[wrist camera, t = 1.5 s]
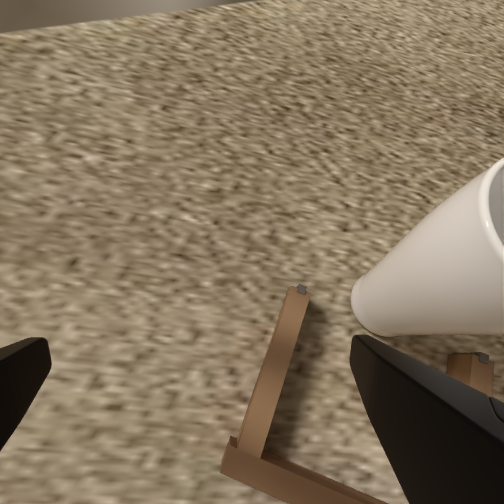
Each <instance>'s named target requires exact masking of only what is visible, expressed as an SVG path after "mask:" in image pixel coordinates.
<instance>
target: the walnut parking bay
mask: <svg viewBox="0 0 504 504" xmlns="http://www.w3.org/2000/svg"><path fill="white" fill-rule="evenodd" d="M306 288H307V287H306V286H303V285H301V284H299V285H298V286H297V288H296V287H294V286H292V287H291V288H290V289H289V291H288V292H287V294H286V297H285V300H284V303H283V306H282V309H281V312H280V314H279V317H278V320H277V323H276V326H275V329H274V332H273V335H272V338H271V341H270V344H269V347H268V350H267V353H266V356H265V358H264V361H263V364H262V367H261V370H260V373H259V376H258V379H257V382H256V385H255V388H254V391H253V394H252V397H251V400H250V403H249V405H248V408H247V411H246V414H245V417H244V420H243V423H242V426H241V429H240V432H239V435H238V438H234V437H232V436H230V439H229V442H228V444H227V447H226V450H225V453H224V456H223V459H222V464H221V471H220V473H221V474H224V475H226V476H228V477H230V478H233V479H235V480H237V481H240V482H242V483H244V484H246V485H249V486H251V487H253V488H255V489H258V490H260V491H262V492H264V493H267V494H269V495H271V496H273V497H276V498H278V499H280V500H282V501H285V502H287V503H289V504H388V503H385V502H383V501H381V500H378V499H376V498H374V497H371V496H369V495H367V494H364V493H362V492H360V491H357V490H355V489H353V488H351V487H348V486H346V485H344V484H341V483H339V482H337V481H334V480H332V479H330V478H327V477H325V476H323V475H320V474H318V473H316V472H313V471H311V470H309V469H306V468H304V467H302V466H299V465H297V464H295V463H292V462H290V461H288V460H285V459H283V458H281V457H278V456H276V455H274V454H271V453H269V452H267V451H264V450H263V448H264V444H265V441H266V438H267V435H268V431H269V428H270V425H271V422H272V418H273V415H274V412H275V409H276V406H277V402H278V399H279V396H280V393H281V389H282V386H283V383H284V380H285V376H286V373H287V370H288V367H289V363H290V360H291V357H292V354H293V351H294V347H295V344H296V341H297V338H298V334H299V331H300V328H301V325H302V321H303V318H304V315H305V312H306V308H307V305H308V302H309V299H310V296H311V293H310V292H307V291H306ZM493 369H494V362H492V361H490V360H489V355H487V354H484V353H481V352H474V353H455V355H449V357H448V365H447V373H446V374H447V375H449V376H451V377H453V378H455V379H457V380H459V381H461V382H463V383H465V384H467V385H469V386H471V387H473V388H475V389H477V390H479V391H481V392H483V393H485V394H487V395H488V397H492V384H493Z"/></svg>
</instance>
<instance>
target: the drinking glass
mask: <svg viewBox="0 0 504 504" xmlns="http://www.w3.org/2000/svg"><path fill="white" fill-rule="evenodd" d="M351 306H352V310H353V312H354V315H355V316H356V318H357V320H358V321H359V322H360V323H361V324H362V325H363V326H364V327H365V328H366V329H367V330H369V331H370V332H372V333H374V334H377V335H380V336H384V337H395V336H402V335H500V334H504V158H502V159H500V160H499V161H498V162H496V163H495V164H494V165H492V166H491V167H489V168H488V169H486V170H485V171H483V172H482V173H481V174H479V175H478V176H476V177H475V178H473V179H472V180H471V181H469V182H468V183H466V184H465V185H464V186H462V187H461V188H459V189H458V190H457V191H455V192H454V193H453V194H451V195H450V196H449V197H448V198H446V199H445V200H444V201H443V202H441V203H440V204H439V205H438V206H436V207H435V208H434V209H433V210H432V211H431V212H430V213H428V214H427V215H426V216H425V217H424V218H423V219H422V220H421V221H420V222H419V223H418V224H417V225H416V226H415V227H414V228H412V229H411V230H410V231H409V232H408V233H407V234H406V235H405V236H404V237H403V238H402V239H401V240H400V241H399V242H398V243H397V244H396V245H395V246H394V247H393V248H392V249H391V250H390V251H389V252H388V253H387V254H386V255H385V256H384V257H383V258H382V259H381V260H380V261H379V262H378V263H377V264H376V265H375V266H374V267H373V268H372V269H371V270H369V271H368V272H367V273H365V274H364V275H363V276H361V277H360V278H359V279H358V280H357V281H356V283H355V284H354V286H353V289H352V292H351Z"/></svg>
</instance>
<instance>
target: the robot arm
mask: <svg viewBox="0 0 504 504" xmlns="http://www.w3.org/2000/svg"><path fill="white" fill-rule="evenodd" d="M51 365H52V362H51V356H50V351H49V345H48V341H47V340H46V339H45V338H43V337H31V338H27V339H24V340H21V341H19V342H16V343H13V344H11V345H8V346H5V347H3V348H0V451H1V449H2V448H3V447H4V445H5V444H6V442H7V441H8V439H9V438H10V437H11V435H12V434H13V432H14V431H15V429H16V428H17V426H18V425H19V423H20V422H21V420H22V418H23V417H24V415H25V414H26V412H27V410H28V408H29V407H30V405H31V403H32V401H33V400H34V398H35V396H36V394H37V393H38V391H39V389H40V387H41V386H42V384H43V382H44V381H45V379H46V377H47V375H48V374H49V372H50V369H51ZM350 367H351V370H352V372H353V375H354V378H355V381H356V384H357V387H358V390H359V393H360V395H361V398H362V401H363V404H364V407H365V409H366V412H367V415H368V417H369V419H370V421H371V424H372V426H373V428H374V430H375V432H376V434H377V436H378V438H379V441H380V443H381V445H382V447H383V449H384V451H385V453H386V455H387V458H388V460H389V462H390V464H391V466H392V468H393V470H394V472H395V474H396V477H397V479H398V481H399V483H400V485H401V487H402V489H403V491H404V494H405V496H406V498H407V500H408V502H409V504H504V403H503V402H501V401H499V400H497V399H495V398H493V397H488V395H487V394H485V393H483V392H481V391H479V390H477V389H475V388H473V387H471V386H469V385H467V384H465V383H463V382H461V381H459V380H457V379H455V378H453V377H451V376H449V375H447V374H445V373H443V372H441V371H439V370H437V369H435V368H433V367H431V366H429V365H427V364H425V363H423V362H421V361H419V360H417V359H415V358H413V357H411V356H409V355H407V354H405V353H403V352H401V351H399V350H397V349H395V348H393V347H391V346H389V345H387V344H385V343H383V342H381V341H379V340H377V339H375V338H373V337H371V336H369V335H354V336H353V338H352V343H351V351H350Z"/></svg>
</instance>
